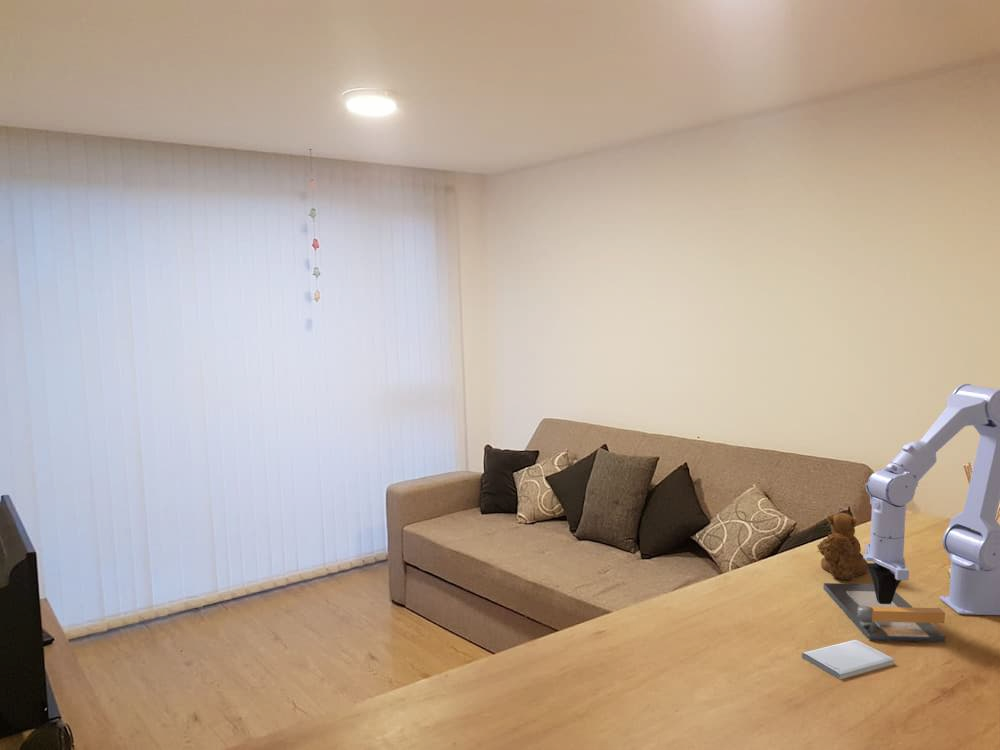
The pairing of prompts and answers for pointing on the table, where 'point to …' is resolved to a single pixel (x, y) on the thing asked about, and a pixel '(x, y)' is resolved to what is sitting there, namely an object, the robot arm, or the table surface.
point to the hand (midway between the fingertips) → (884, 602)
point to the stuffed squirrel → (842, 549)
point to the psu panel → (865, 595)
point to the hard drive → (848, 659)
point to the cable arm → (900, 614)
